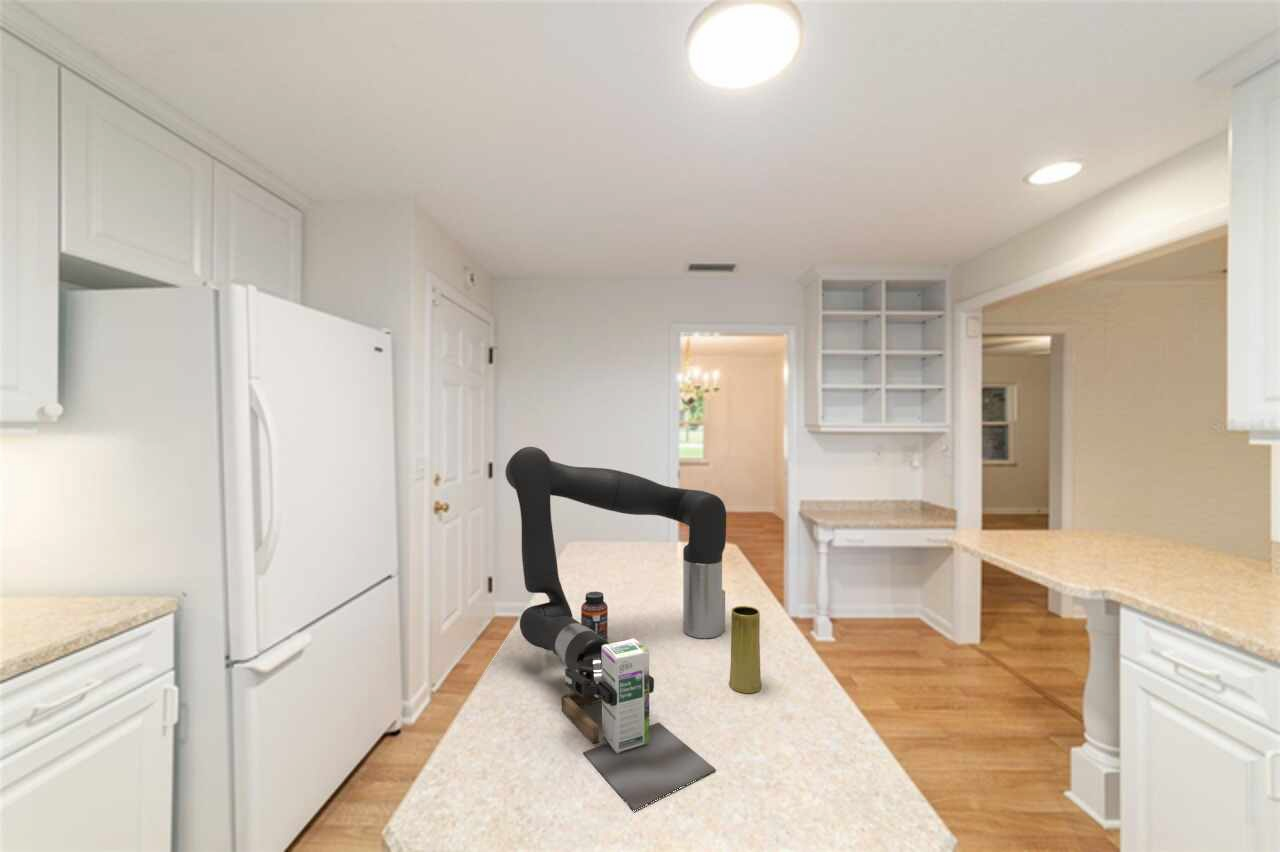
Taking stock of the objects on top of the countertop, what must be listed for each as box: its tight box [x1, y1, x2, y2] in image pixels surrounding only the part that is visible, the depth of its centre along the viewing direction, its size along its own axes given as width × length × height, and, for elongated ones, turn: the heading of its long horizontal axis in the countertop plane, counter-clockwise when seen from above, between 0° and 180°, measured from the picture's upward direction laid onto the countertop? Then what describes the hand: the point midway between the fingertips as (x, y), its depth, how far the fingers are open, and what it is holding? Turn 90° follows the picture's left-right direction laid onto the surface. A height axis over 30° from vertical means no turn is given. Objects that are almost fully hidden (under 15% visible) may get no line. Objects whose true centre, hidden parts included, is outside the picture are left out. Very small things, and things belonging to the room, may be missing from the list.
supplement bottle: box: [580, 591, 609, 641], centre depth 117 cm, size 6×6×11 cm
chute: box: [561, 691, 717, 811], centre depth 81 cm, size 26×14×2 cm, turn 34°
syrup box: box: [601, 637, 650, 753], centre depth 81 cm, size 6×6×14 cm
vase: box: [728, 605, 763, 694], centre depth 98 cm, size 6×6×14 cm
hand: (633, 692), depth 79 cm, fingers closed on syrup box, 6 cm apart
